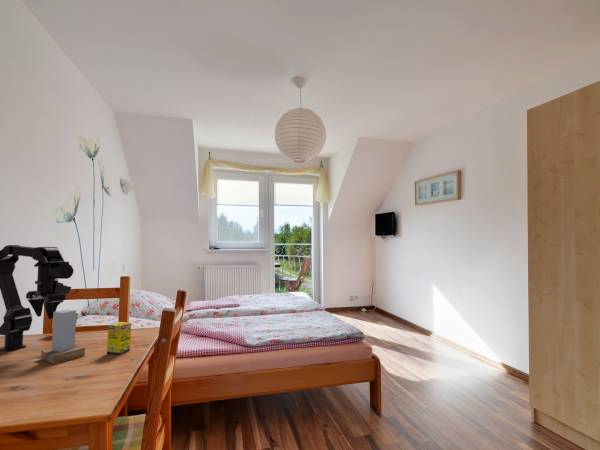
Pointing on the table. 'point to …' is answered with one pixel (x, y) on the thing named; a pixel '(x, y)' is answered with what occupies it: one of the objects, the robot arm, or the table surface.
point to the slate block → (63, 330)
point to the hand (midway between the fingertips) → (44, 317)
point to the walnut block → (62, 354)
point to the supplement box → (119, 338)
